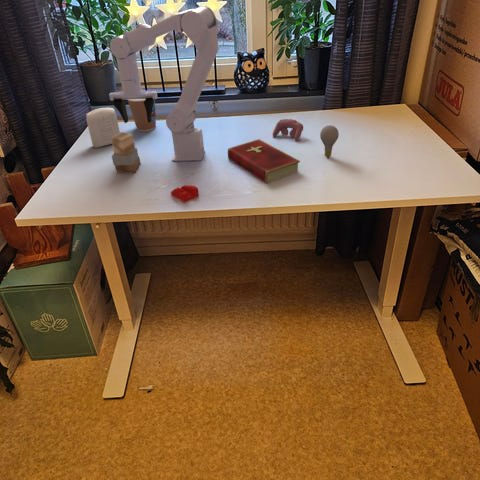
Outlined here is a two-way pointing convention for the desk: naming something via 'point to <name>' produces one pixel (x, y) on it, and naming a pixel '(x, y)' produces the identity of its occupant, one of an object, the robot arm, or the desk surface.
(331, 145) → the light bulb
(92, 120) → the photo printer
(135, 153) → the slate-grey top block
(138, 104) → the coffee cup
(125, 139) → the birch block
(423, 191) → the desk surface
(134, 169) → the walnut base block
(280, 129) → the brown arched piece
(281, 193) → the desk surface
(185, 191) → the bracket
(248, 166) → the hardcover book
